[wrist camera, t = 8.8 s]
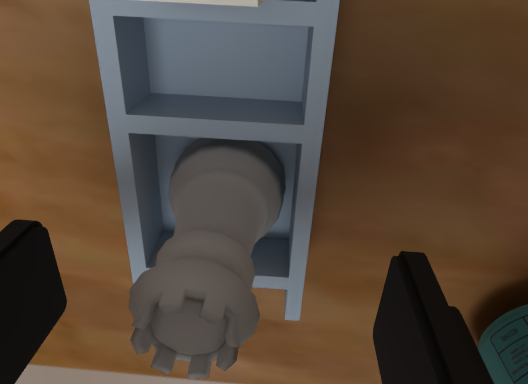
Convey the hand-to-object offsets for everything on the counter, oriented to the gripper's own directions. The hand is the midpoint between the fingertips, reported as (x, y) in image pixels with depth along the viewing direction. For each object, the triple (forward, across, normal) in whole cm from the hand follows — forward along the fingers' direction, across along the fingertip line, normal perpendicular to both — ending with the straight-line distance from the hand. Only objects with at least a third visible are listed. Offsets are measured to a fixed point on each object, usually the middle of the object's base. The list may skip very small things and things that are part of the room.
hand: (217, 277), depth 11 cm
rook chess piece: (+6, 0, 0) cm, 6 cm away
